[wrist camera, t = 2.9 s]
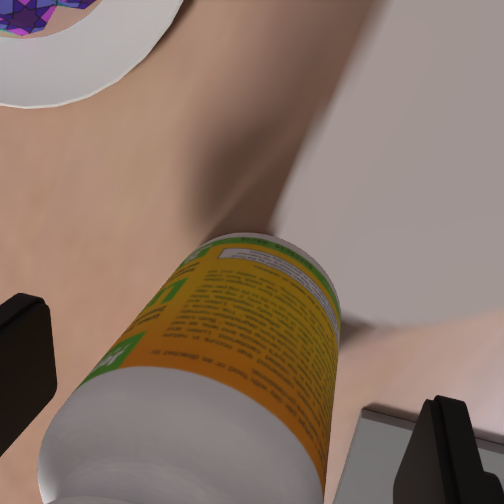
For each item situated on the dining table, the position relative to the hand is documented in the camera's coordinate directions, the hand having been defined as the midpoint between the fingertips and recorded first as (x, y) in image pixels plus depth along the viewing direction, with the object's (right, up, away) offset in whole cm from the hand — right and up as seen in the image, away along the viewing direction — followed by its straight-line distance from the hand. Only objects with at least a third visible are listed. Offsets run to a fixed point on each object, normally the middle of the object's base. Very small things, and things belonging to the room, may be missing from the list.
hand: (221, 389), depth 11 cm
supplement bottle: (+1, +2, +4) cm, 4 cm away
